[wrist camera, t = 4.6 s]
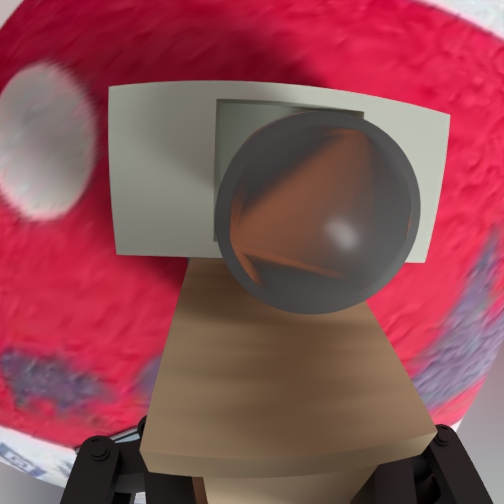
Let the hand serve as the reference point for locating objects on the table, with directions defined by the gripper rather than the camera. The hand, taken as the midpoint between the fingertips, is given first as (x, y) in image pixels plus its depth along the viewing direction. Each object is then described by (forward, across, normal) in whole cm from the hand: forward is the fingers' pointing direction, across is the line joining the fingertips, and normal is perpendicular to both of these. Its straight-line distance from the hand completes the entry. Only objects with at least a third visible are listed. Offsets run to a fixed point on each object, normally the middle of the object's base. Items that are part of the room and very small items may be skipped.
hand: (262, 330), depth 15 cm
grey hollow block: (+7, 0, +8) cm, 10 cm away
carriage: (+7, 0, 0) cm, 7 cm away
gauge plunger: (-3, 0, +8) cm, 8 cm away
